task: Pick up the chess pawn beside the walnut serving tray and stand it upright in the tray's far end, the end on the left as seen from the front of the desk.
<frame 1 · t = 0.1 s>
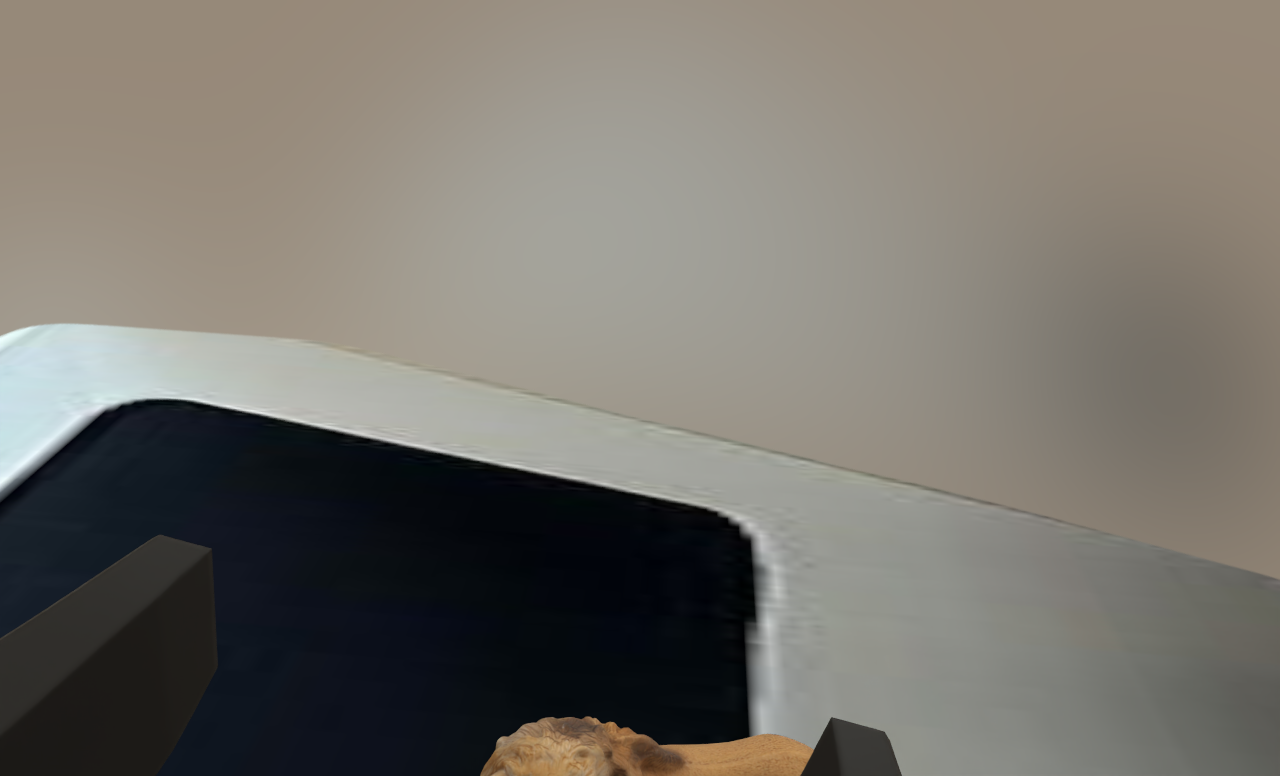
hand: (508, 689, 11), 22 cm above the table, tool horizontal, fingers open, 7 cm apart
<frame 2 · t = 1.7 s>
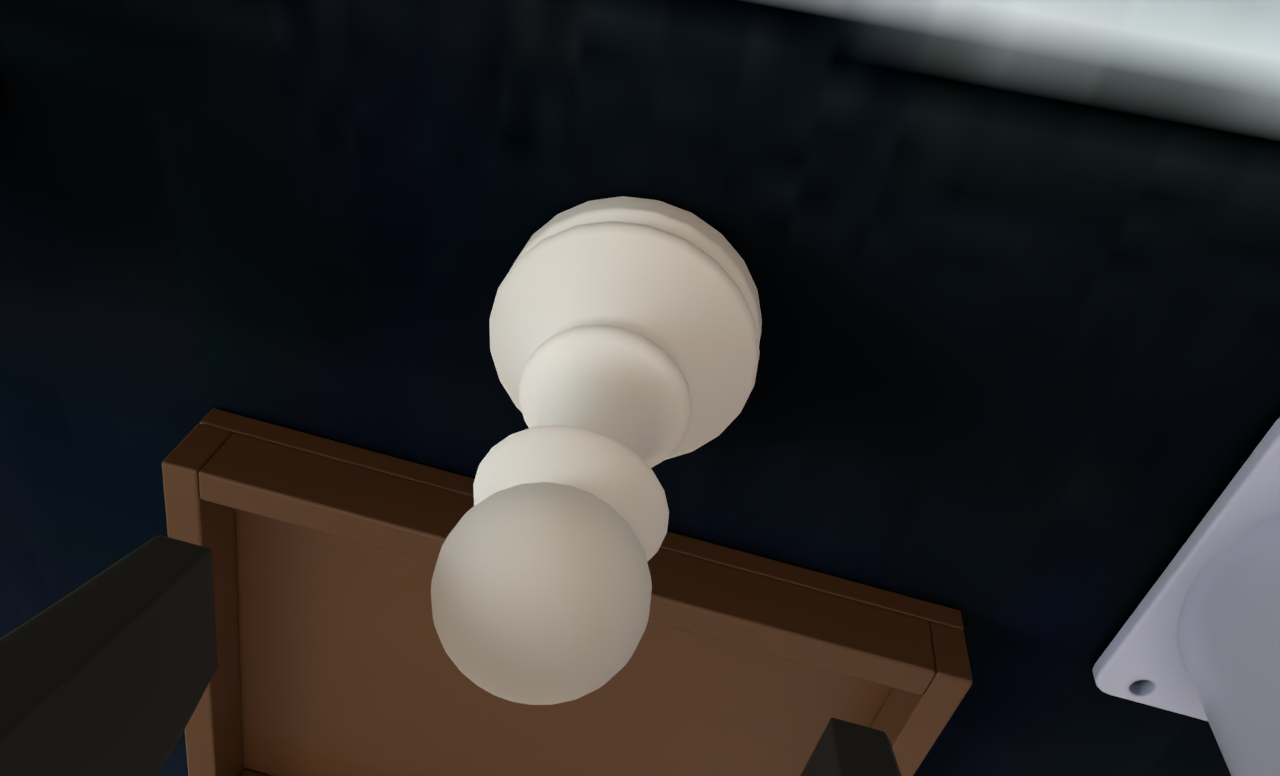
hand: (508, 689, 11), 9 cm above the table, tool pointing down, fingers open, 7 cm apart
chess pawn: (635, 308, 19), on the table
tray: (539, 695, 25), on the table
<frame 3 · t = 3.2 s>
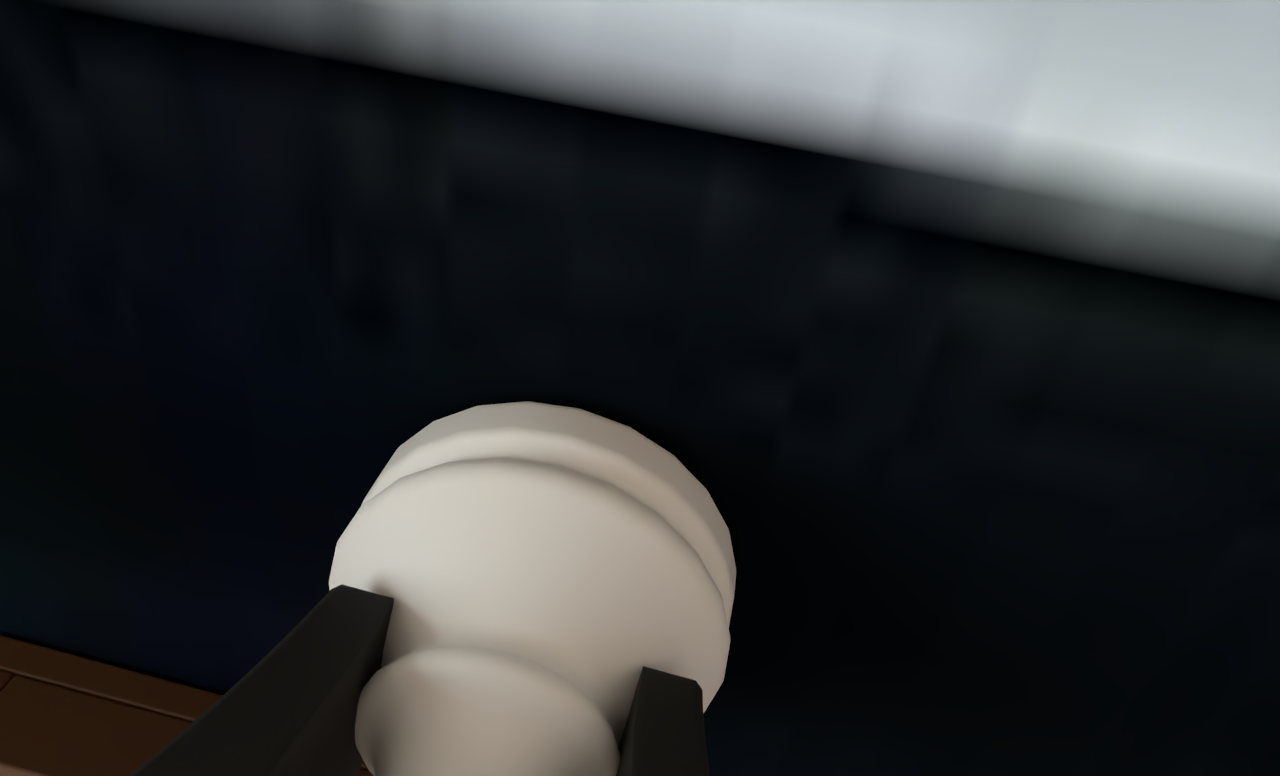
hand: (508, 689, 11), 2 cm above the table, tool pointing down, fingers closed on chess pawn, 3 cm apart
chess pawn: (556, 538, 13), on the table, touching gripper
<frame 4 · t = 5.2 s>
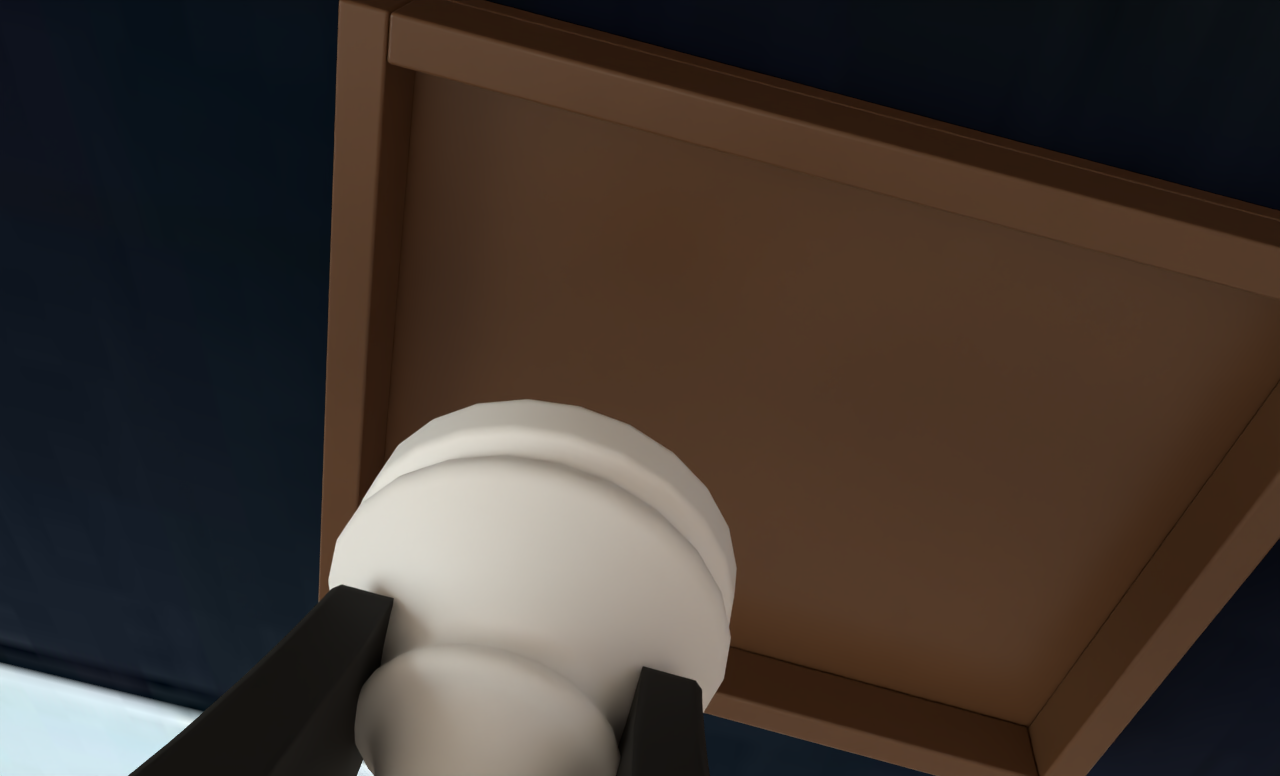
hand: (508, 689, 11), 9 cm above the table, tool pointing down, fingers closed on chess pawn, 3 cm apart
chess pawn: (556, 536, 13), point 7 cm above the table, touching gripper
tray: (776, 425, 20), on the table
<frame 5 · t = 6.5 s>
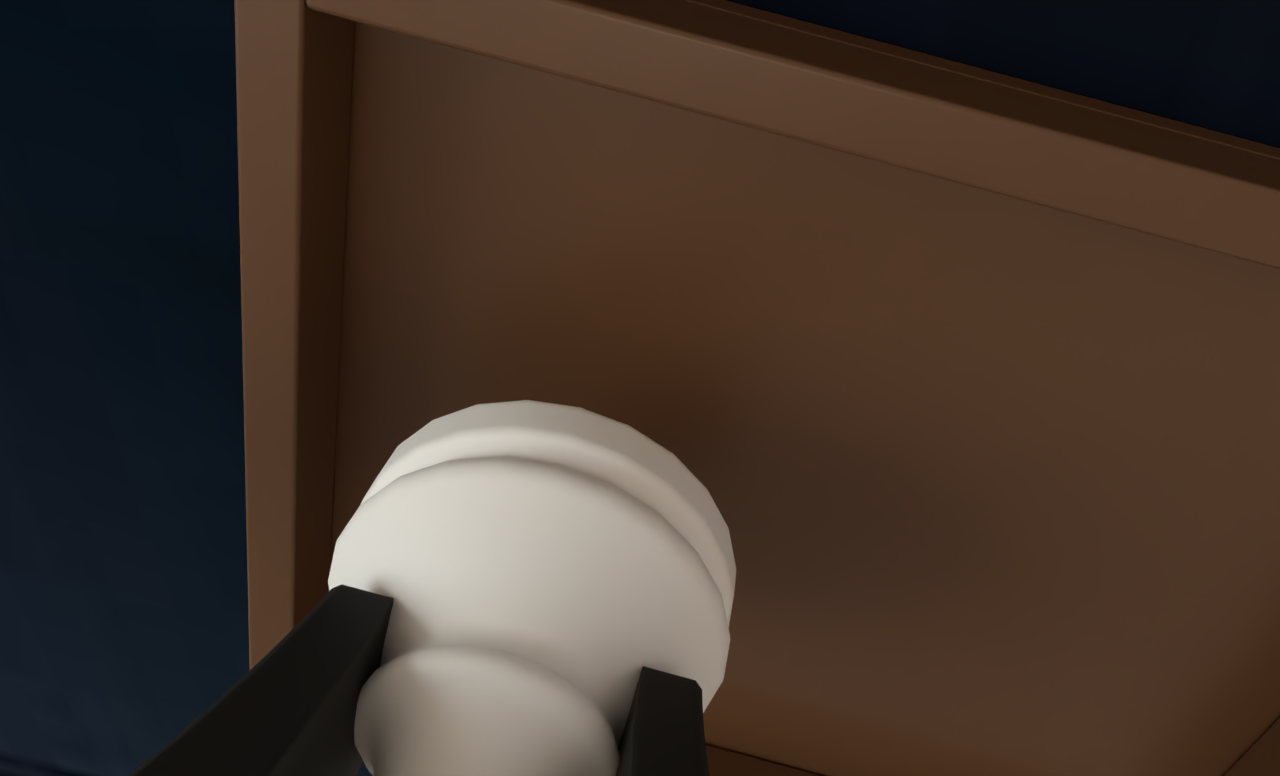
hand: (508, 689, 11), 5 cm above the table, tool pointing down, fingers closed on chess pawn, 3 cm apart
chess pawn: (556, 537, 13), point 3 cm above the table, touching gripper
tray: (834, 495, 15), on the table
when the fingers open (3 cm above the table, at t = 7.5 s): chess pawn stays where it is, resting on tray.
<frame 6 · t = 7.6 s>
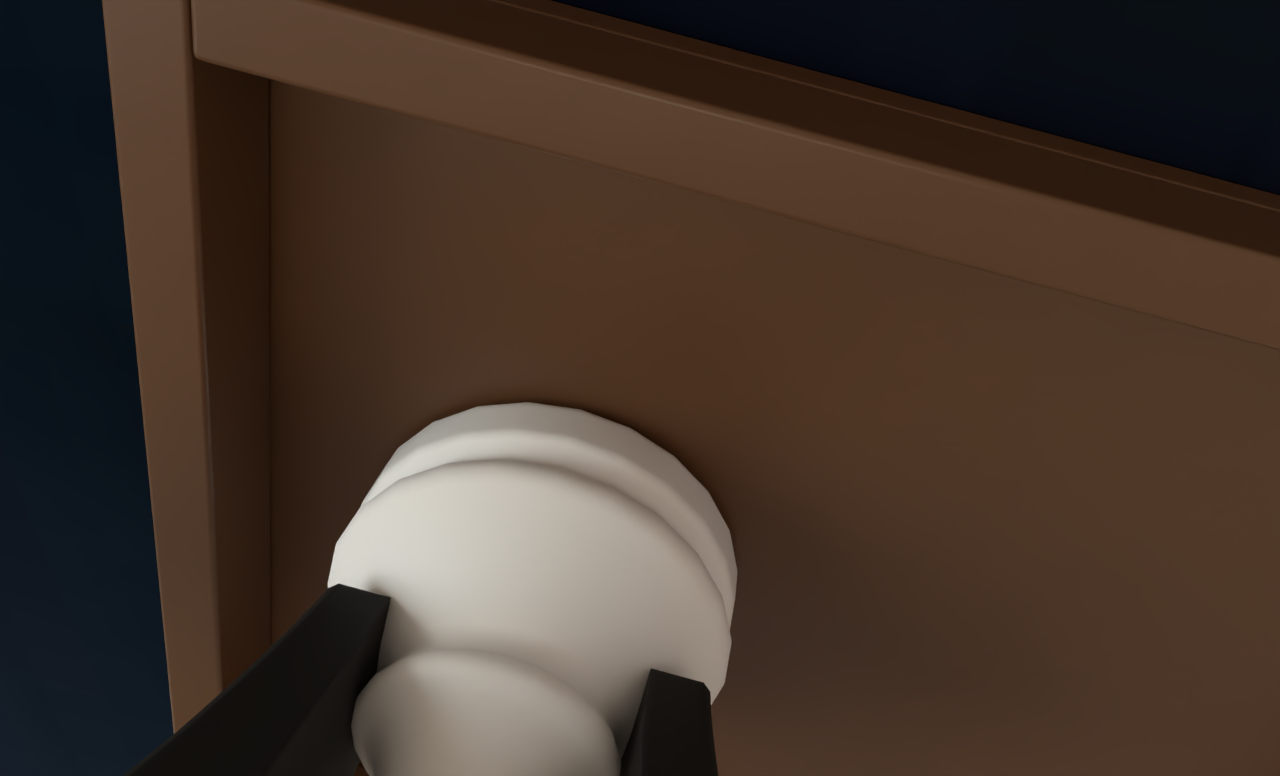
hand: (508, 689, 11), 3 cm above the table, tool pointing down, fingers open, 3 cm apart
chess pawn: (556, 539, 13), resting on tray
tray: (839, 596, 13), on the table
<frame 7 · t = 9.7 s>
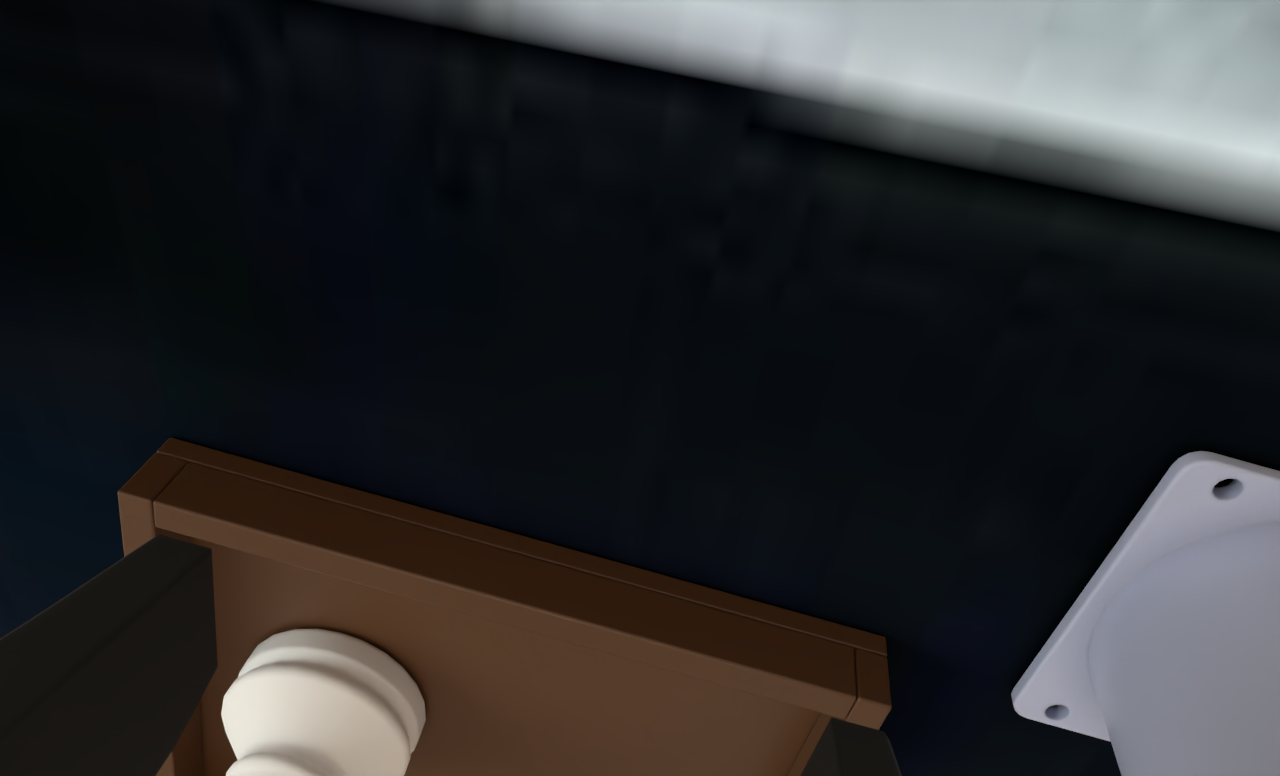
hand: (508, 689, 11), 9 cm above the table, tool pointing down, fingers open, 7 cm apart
chess pawn: (342, 684, 26), resting on tray
tray: (489, 712, 26), on the table
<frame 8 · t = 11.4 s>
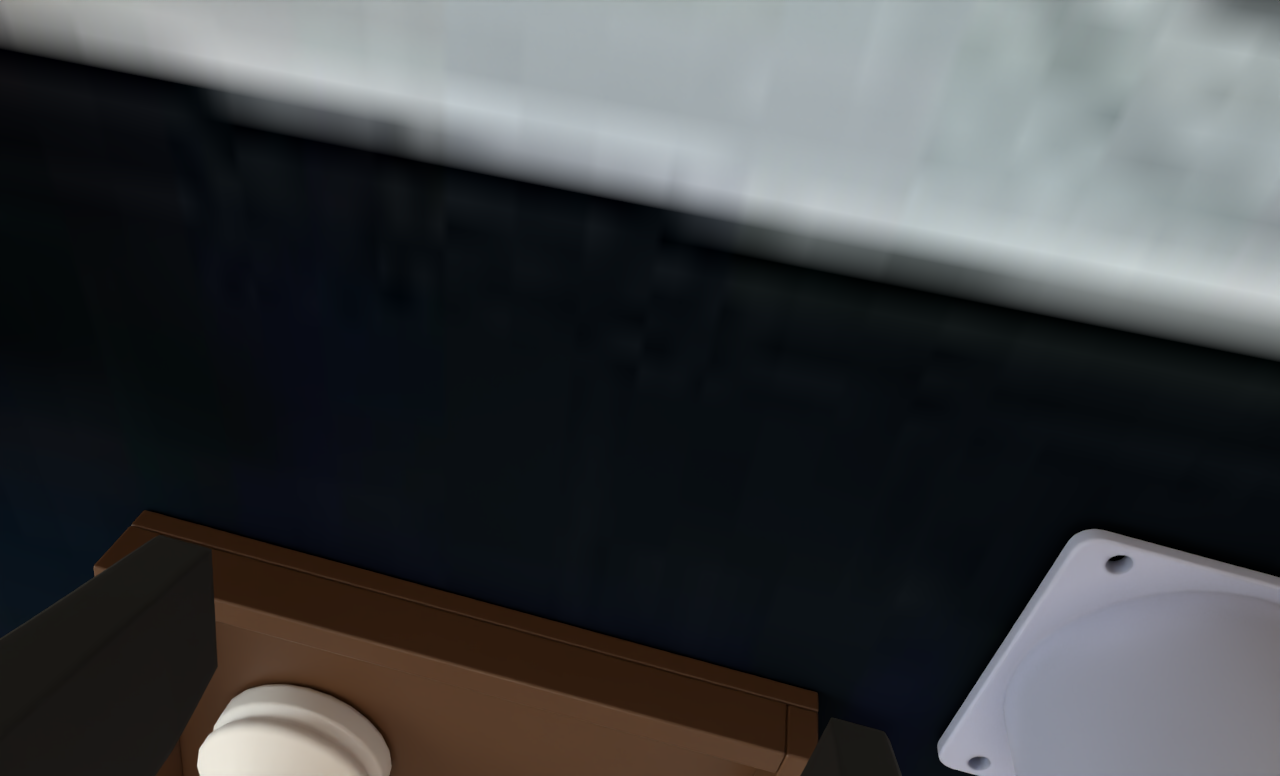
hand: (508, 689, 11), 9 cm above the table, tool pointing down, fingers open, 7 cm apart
chess pawn: (312, 733, 27), resting on tray
tray: (452, 758, 28), on the table
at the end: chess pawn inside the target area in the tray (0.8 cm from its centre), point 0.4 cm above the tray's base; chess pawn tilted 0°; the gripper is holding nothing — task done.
